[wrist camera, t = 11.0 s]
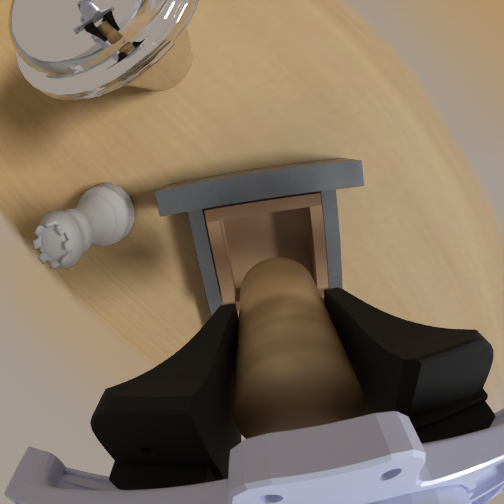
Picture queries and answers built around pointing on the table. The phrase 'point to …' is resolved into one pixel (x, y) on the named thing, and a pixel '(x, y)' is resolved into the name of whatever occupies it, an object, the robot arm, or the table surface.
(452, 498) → the robot arm
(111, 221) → the rook chess piece
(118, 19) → the cup with straw
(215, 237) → the walnut socket block
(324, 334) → the oak dowel
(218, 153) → the table surface
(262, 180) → the rail
